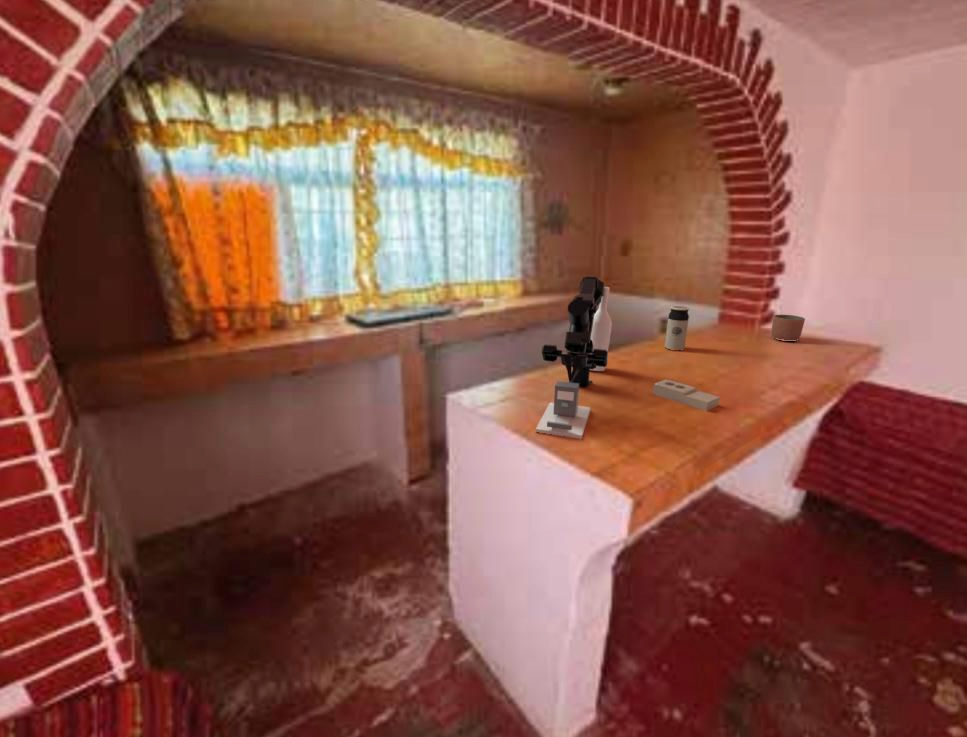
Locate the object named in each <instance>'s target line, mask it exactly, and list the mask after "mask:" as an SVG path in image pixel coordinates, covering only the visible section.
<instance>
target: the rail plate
mask: <svg viewBox="0 0 967 737" xmlns="http://www.w3.org/2000/svg"><path fill="white" fill-rule="evenodd" d="M590 413H591V407H590V406H589V407H588V406H583V405H578V408H577V414H576V417H568V416H561V415H553V414H554V402H549V404H548V405H547V407H546V409H545V411H544V413H543V415H542V417H540V419H539V422H538V424H537V425H536V428H535V433H536V432H539V433H538V434H543V433H546V434H545V435H550V434H552V436H557V435H558V436H559V437H564V436H565V438H573V439H580V440H582V439H583V436H584V433H585V430H586V426H587V422H588V419H589V416H590ZM558 436H557V437H558Z"/></svg>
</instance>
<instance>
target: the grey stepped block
mask: <svg viewBox="0 0 967 737" xmlns="http://www.w3.org/2000/svg"><path fill="white" fill-rule="evenodd" d="M652 394H653V395H654V394H655V396H658V397H661V398H665V399H667V400H670V401H674V402H677V403H680V404H683V405H685V406H688V407H692V408H696V409H697V410H702V411H704V412H707V411H709V410H712V409H714V408H716V407H718V406H719V404H720V397H721V396H717V395H714V394H711V393H707V392H704V391H701V390H697V387H695V386H692V385H688V384H685V383H683V382H682V383H681V382H677V381H675V380H672V379H671V380H670V379H668V378H667V379H662V380H661V381H658V382H655V383H654V384H653V390H652Z"/></svg>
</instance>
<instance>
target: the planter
mask: <svg viewBox="0 0 967 737" xmlns="http://www.w3.org/2000/svg"><path fill="white" fill-rule="evenodd" d="M805 321H806V318H805V317H803V316H799V315H792V314H774V315H773V319H772V325H771V337H774V338H778V339H784V340H797V339H798V340H799V339H800V338H801V336H802V332H803V328H804V325H805ZM798 340H797V341H798Z"/></svg>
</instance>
